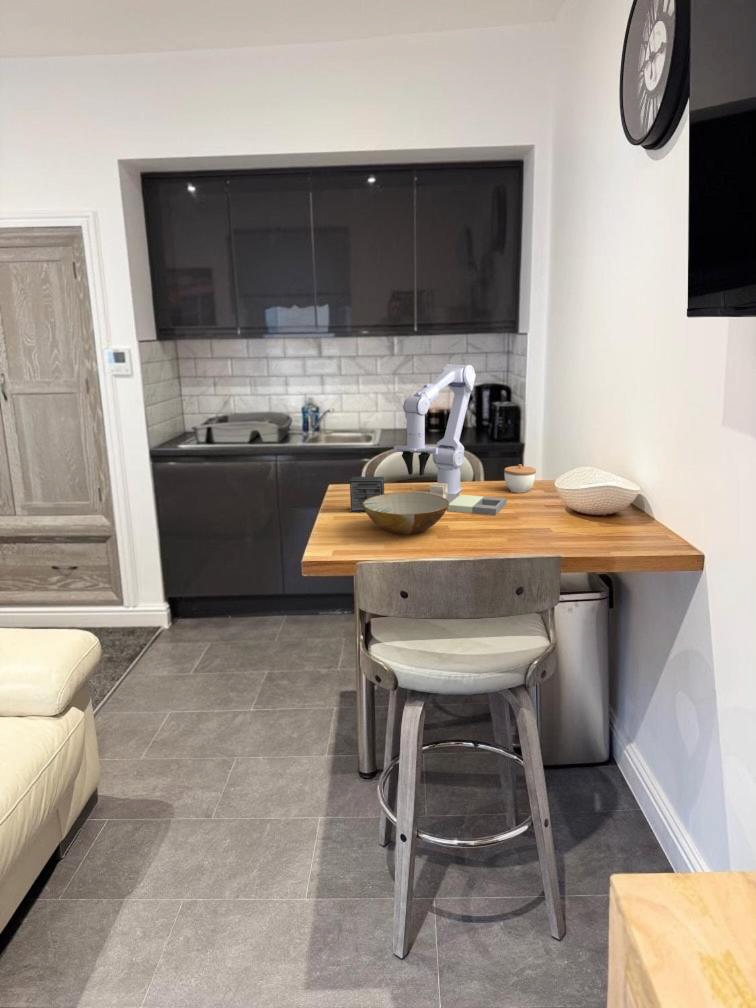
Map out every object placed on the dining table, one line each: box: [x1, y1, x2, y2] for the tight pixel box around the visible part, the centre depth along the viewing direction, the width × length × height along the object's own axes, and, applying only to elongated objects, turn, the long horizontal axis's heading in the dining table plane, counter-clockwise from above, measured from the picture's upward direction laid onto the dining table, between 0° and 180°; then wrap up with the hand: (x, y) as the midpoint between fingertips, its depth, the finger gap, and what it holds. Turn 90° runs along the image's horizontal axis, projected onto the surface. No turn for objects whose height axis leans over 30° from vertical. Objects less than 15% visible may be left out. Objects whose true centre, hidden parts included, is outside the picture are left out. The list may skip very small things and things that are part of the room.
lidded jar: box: [504, 463, 537, 494], centre depth 252 cm, size 11×11×9 cm
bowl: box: [362, 491, 449, 536], centre depth 209 cm, size 25×25×8 cm
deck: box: [410, 490, 507, 516], centre depth 235 cm, size 14×32×2 cm, turn 67°
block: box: [429, 482, 447, 499], centre depth 236 cm, size 4×4×4 cm
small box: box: [349, 476, 385, 513], centre depth 230 cm, size 11×6×10 cm, turn 84°
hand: (416, 474), depth 238 cm, fingers open, 3 cm apart
